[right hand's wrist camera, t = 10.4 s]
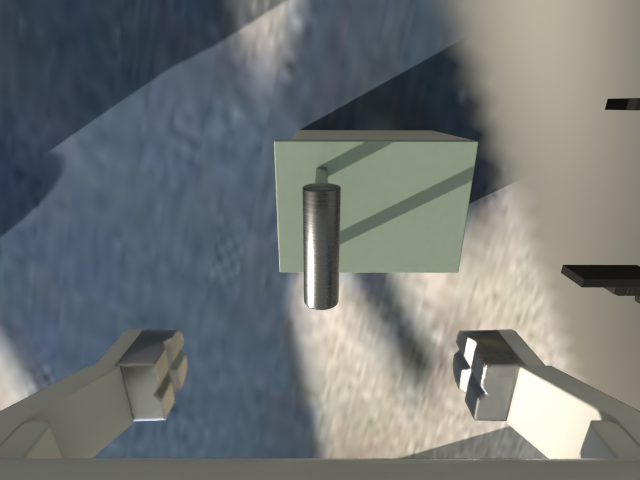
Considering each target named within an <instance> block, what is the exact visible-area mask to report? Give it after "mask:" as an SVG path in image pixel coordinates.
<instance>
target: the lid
mask: <svg viewBox="0 0 640 480" xmlns="http://www.w3.org/2000/svg"><path fill="white" fill-rule="evenodd" d="M477 148H478V141H474V140H308V139H277V140H275V141H274V150H275V174H276V197H277V220H278V244H279V267H280V272H304V302H305V304H306V305H307V306H308V307H310V308H312V309H316V310H326V309H330V308H333V307H335V306H336V305H337V303H338V294H339V272H391V273H458V270H459V264H460V257H461V251H462V244H463V238H464V232H465V225H466V219H467V212H468V206H469V199H470V193H471V186H472V180H473V174H474V167H475V161H476V154H477Z"/></svg>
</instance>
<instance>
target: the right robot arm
mask: <svg viewBox="0 0 640 480" xmlns="http://www.w3.org/2000/svg"><path fill="white" fill-rule="evenodd" d="M183 343H184V340H183V335H182V333H181V332H180V331H179V330H127V331H124V332H123V334H122V335H121V336H120V337H119V338H118V339H117V340H116V342H115V343H114V344H113V345H112V346H111V347H110V349H109V350H108V351H107V352H106V353H105V354H104V355H103V357H102V358H101V359H100V360H99V361H98V362H97V363H96V365H95V366H88V367H86V368H84V369H82V370H80V371H78V372H76V373H74V374H72V375H70V376H68V377H66V378H64V379H62V380H60V381H58V382H56V383H54V384H52V385H51V386H49V387H47V388H45V389H43V390H41V391H39V392H37V393H35V394H33V395H31V396H29V397H27V398H25V399H23V400H21V401H19V402H17V403H15V404H13V405H11V406H9V407H7V408H6V409H4V410H2V411H0V480H640V411H638V410H636V409H634V408H632V407H630V406H628V405H626V404H625V403H623V402H621V401H619V400H617V399H615V398H613V397H611V396H609V395H607V394H605V393H603V392H601V391H599V390H597V389H595V388H593V387H591V386H589V385H587V384H585V383H584V382H582V381H580V380H578V379H576V378H574V377H572V376H570V375H568V374H566V373H564V372H562V371H560V370H558V369H556V368H554V367H552V366H545V365H544V363H543V362H542V361H541V360H540V359H539V358H538V357H537V355H536V354H535V353H534V352H533V351H532V350H531V349H530V347H529V346H528V345H527V344H526V343H525V342H524V341H523V339H522V338H521V337H520V336H519V335H518V334H517V332H516V331H514V330H512V329H505V330H477V331H459V333H458V335H457V340H456V343H457V345H458V347H459V349H460V350H459V351H458V352H457V353H456V354H455V355H454V359H453V373H454V378H455V381H456V383H457V386H458V388H459V389H460V390H462V391H463V392H464V393H466V397H465V402H466V404H467V406H468V408H469V410H470V412H471V414H472V416H473V418H474V420H485V421H507V422H506V423H507V424H509V425H510V426H511V427H512V428H513V429H514V430H516V431H517V432H518V433H519V434H520V435H521V436H523V437H524V438H525V439H526V440H527V441H528V442H530V443H531V444H532V445H533V446H534V447H536V448H537V449H538V450H539V451H540V452H541V453H543V454H544V455H545V456H546V457H547V458H548V459H280V458H262V459H100V458H93V457H94V456H95V455H96V454H98V453H99V452H100V451H101V450H102V449H103V448H105V447H106V446H107V445H108V444H109V443H110V442H112V441H113V440H114V439H115V438H116V437H118V436H119V435H120V434H121V433H122V432H123V431H125V430H126V429H127V428H128V427H129V426H130V425H132V424H133V423H134V422H133V421H154V420H166V418H167V416H168V414H169V412H170V410H171V408H172V406H173V404H174V402H175V397H174V393H176V392H177V391H178V390H180V389H181V388H182V386H183V383H184V381H185V377H186V373H187V358H186V355H185V354H184V353H183V352H182V351H181V350H180V349H181V347H182V345H183Z"/></svg>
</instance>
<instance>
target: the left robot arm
mask: <svg viewBox="0 0 640 480" xmlns="http://www.w3.org/2000/svg"><path fill="white" fill-rule="evenodd" d="M605 110H640V98H629V99H608V100H607V104H606V108H605ZM561 273H562V274H564V275H565V276H567V277H568V278H569V279H571V280H572V281H574V282H575V283H576V284H578V285H579V286H581V287H604V288H605V289H607V290H609V291H610V292H612V293H613V294H616V295H618V296H635V301H636V302H638V303H640V267H639V266H637V265H563V267H562V271H561Z"/></svg>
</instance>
